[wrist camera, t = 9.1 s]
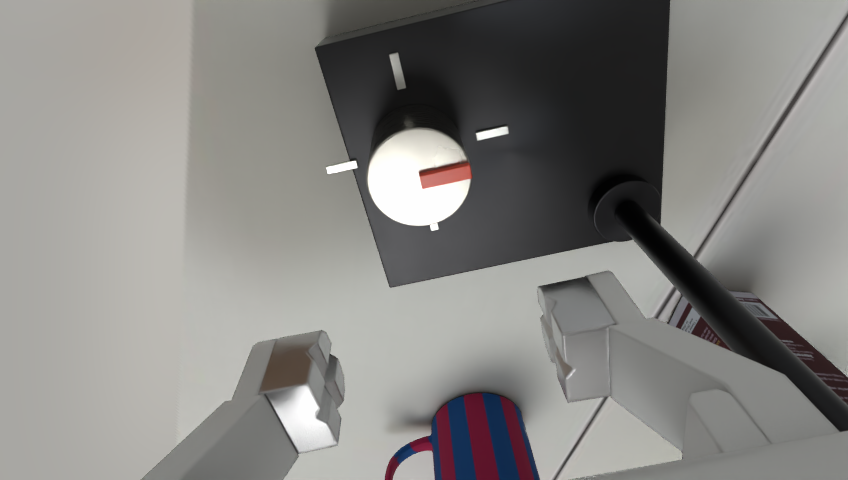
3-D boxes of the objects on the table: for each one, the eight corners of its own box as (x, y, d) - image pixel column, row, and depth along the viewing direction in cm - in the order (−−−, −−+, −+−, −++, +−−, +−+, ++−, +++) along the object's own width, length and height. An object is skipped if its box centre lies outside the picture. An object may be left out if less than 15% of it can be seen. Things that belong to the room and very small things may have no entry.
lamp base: (372, 261, 27) (369, 294, 24) (301, 43, 21) (286, 54, 18) (634, 206, 26) (662, 233, 23) (637, -39, 20) (674, -41, 17)
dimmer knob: (383, 199, 22) (381, 239, 18) (359, 115, 20) (352, 144, 17) (468, 180, 22) (480, 218, 18) (452, 94, 20) (463, 118, 16)
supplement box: (699, 386, 34) (908, 674, 20) (636, 382, 33) (805, 674, 19) (757, 288, 29) (1073, 566, 16) (685, 281, 29) (948, 564, 15)
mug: (514, 453, 36) (536, 546, 30) (384, 453, 36) (382, 549, 30) (529, 392, 33) (558, 483, 27) (387, 390, 32) (385, 484, 26)
